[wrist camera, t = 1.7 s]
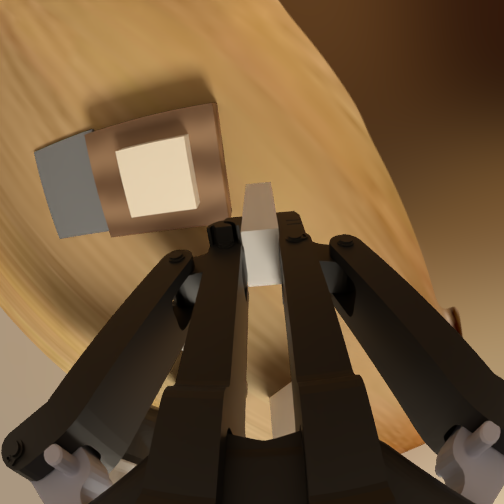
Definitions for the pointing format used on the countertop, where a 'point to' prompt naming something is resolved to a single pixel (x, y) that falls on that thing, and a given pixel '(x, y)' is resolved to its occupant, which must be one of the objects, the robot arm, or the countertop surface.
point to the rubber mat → (71, 187)
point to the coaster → (158, 176)
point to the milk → (282, 412)
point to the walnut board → (155, 128)
